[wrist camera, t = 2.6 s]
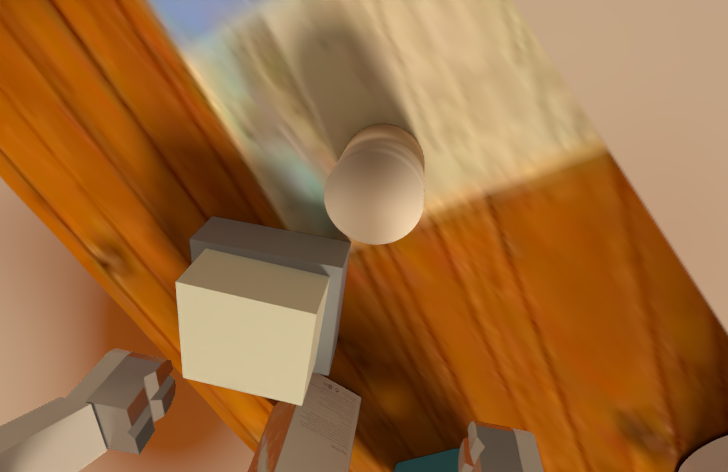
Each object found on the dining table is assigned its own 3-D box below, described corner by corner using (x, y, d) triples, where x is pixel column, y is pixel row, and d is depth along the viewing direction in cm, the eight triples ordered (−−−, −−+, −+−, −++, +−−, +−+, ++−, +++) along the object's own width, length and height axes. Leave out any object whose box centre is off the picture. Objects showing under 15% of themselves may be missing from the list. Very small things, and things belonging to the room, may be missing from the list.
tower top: (330, 276, 28) (316, 314, 24) (315, 363, 32) (302, 405, 29) (205, 248, 28) (175, 281, 25) (208, 338, 33) (182, 377, 29)
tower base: (352, 239, 31) (342, 268, 27) (337, 341, 36) (328, 375, 33) (215, 213, 31) (189, 238, 28) (221, 317, 37) (200, 349, 34)
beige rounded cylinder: (432, 131, 25) (433, 161, 20) (415, 207, 28) (413, 251, 23) (347, 117, 26) (328, 144, 21) (340, 194, 29) (320, 235, 23)
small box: (308, 365, 38) (258, 515, 27) (363, 396, 39) (337, 553, 28) (271, 406, 42) (214, 552, 31) (322, 433, 43) (285, 584, 32)
